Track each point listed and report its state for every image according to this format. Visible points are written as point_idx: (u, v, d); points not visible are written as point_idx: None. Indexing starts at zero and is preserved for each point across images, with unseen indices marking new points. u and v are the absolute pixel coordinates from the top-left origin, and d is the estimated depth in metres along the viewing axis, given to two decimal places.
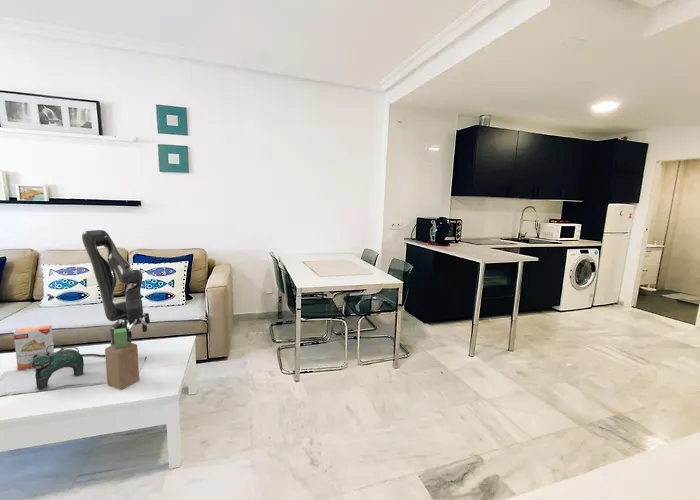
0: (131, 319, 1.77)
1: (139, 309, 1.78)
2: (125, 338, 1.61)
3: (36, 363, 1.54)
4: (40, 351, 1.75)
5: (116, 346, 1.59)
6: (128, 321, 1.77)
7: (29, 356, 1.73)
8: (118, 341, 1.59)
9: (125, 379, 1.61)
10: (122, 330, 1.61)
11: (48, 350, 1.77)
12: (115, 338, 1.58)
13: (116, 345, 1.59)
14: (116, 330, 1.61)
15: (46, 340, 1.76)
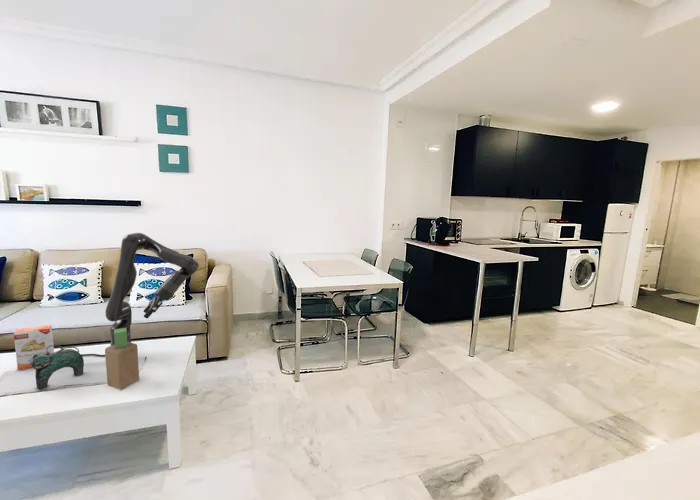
0: None
1: None
2: (125, 338, 1.61)
3: (36, 363, 1.54)
4: (40, 351, 1.75)
5: (116, 346, 1.59)
6: None
7: (29, 356, 1.73)
8: (118, 341, 1.59)
9: (125, 379, 1.61)
10: (122, 330, 1.61)
11: (48, 350, 1.77)
12: (115, 338, 1.58)
13: (116, 345, 1.59)
14: (116, 330, 1.61)
15: (46, 340, 1.76)
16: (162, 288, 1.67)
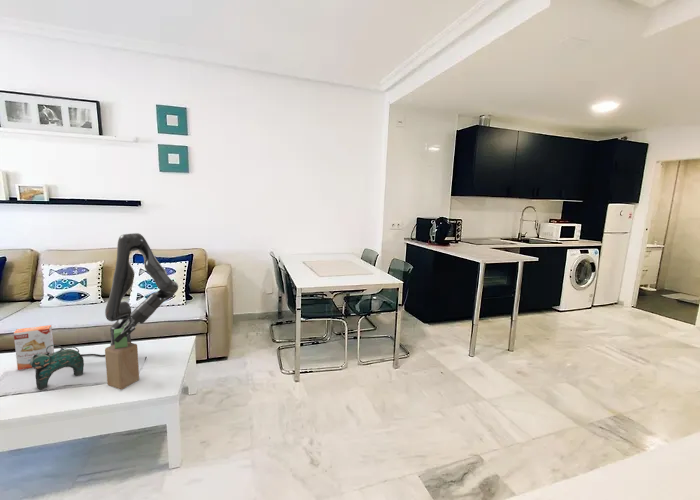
0: None
1: None
2: (125, 338, 1.61)
3: (36, 363, 1.54)
4: (40, 351, 1.75)
5: (116, 346, 1.59)
6: None
7: (29, 356, 1.73)
8: None
9: (125, 379, 1.61)
10: (122, 330, 1.61)
11: (48, 350, 1.77)
12: None
13: (116, 345, 1.59)
14: (116, 330, 1.61)
15: (46, 340, 1.76)
16: (137, 311, 1.62)
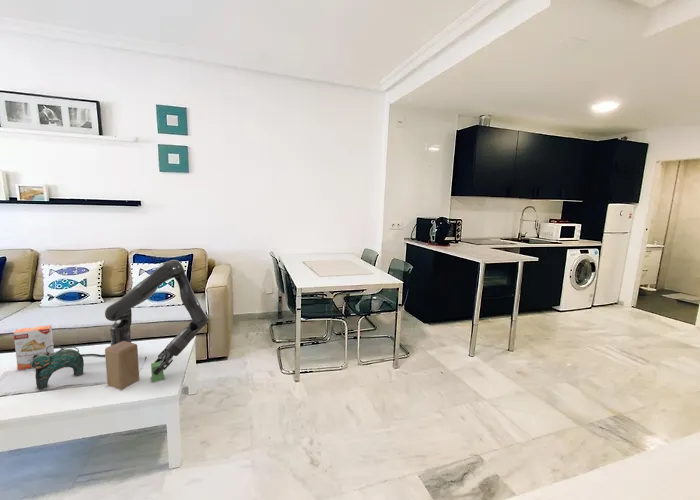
0: None
1: None
2: (162, 371, 1.69)
3: (36, 363, 1.54)
4: (40, 351, 1.75)
5: (153, 379, 1.68)
6: None
7: (29, 356, 1.73)
8: (155, 375, 1.68)
9: (125, 379, 1.61)
10: (159, 364, 1.70)
11: (48, 350, 1.77)
12: None
13: (153, 378, 1.68)
14: (153, 364, 1.70)
15: (46, 340, 1.76)
16: (173, 345, 1.71)
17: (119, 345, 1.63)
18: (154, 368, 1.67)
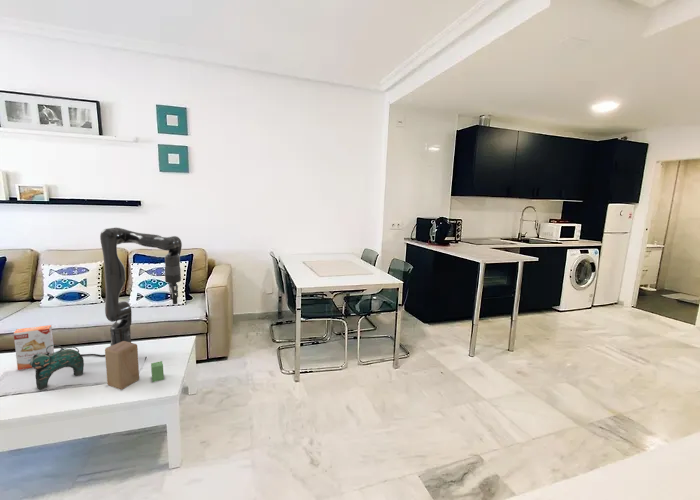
0: (176, 285, 1.78)
1: None
2: (162, 371, 1.69)
3: (36, 363, 1.54)
4: (40, 351, 1.75)
5: (153, 379, 1.68)
6: None
7: (29, 356, 1.73)
8: (155, 375, 1.68)
9: (125, 379, 1.61)
10: (159, 364, 1.70)
11: (48, 350, 1.77)
12: (153, 372, 1.67)
13: (153, 378, 1.68)
14: (153, 364, 1.70)
15: (46, 340, 1.76)
16: (167, 276, 1.76)
17: (119, 345, 1.63)
18: (154, 368, 1.67)
